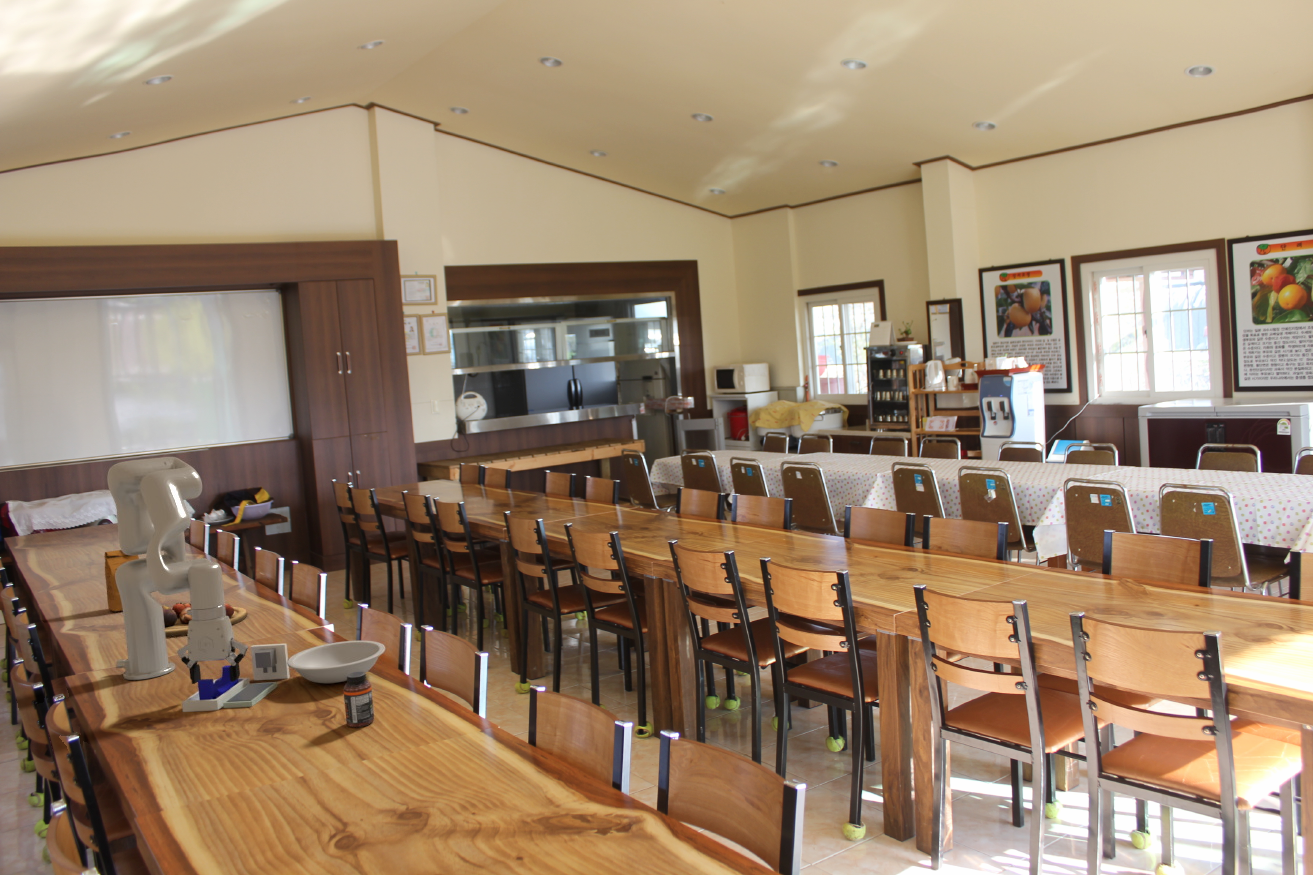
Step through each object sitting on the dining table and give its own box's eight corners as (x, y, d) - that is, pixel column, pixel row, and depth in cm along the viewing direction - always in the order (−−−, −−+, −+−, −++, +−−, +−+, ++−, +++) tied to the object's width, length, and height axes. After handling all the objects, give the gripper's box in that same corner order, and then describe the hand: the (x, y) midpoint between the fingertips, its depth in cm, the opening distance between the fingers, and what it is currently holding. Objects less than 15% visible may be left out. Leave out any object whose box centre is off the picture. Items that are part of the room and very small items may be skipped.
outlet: (248, 684, 245) (244, 650, 244) (256, 678, 249) (252, 645, 249) (282, 682, 245) (279, 648, 244) (289, 676, 249) (286, 643, 248)
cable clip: (222, 688, 241) (220, 665, 241) (239, 688, 241) (236, 665, 240) (194, 705, 230) (191, 681, 229) (211, 705, 229) (209, 680, 229)
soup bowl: (405, 666, 252) (403, 641, 252) (348, 697, 230) (346, 670, 229) (330, 662, 260) (328, 638, 260) (268, 692, 238) (266, 666, 237)
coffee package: (151, 607, 344) (145, 547, 342) (112, 614, 336) (106, 553, 334) (144, 603, 352) (138, 544, 350) (106, 610, 343) (99, 550, 342)
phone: (223, 707, 228) (223, 702, 228) (250, 688, 242) (249, 682, 242) (252, 706, 227) (251, 700, 227) (277, 686, 241) (276, 681, 241)
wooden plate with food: (267, 617, 318) (265, 592, 318) (174, 642, 292) (171, 615, 292) (214, 610, 336) (212, 587, 336) (122, 633, 310) (119, 608, 310)
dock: (182, 711, 227) (181, 702, 227) (216, 688, 243) (216, 679, 243) (218, 709, 226) (217, 700, 226) (249, 686, 243) (248, 677, 243)
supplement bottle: (345, 721, 213) (340, 672, 212) (372, 716, 215) (368, 667, 215) (347, 730, 208) (343, 679, 207) (376, 724, 210) (371, 674, 209)
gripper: (166, 619, 230) (173, 688, 231) (236, 615, 229) (243, 684, 230) (182, 611, 237) (189, 677, 239) (250, 607, 237) (256, 674, 238)
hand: (215, 680), depth 235 cm, fingers open, 9 cm apart
